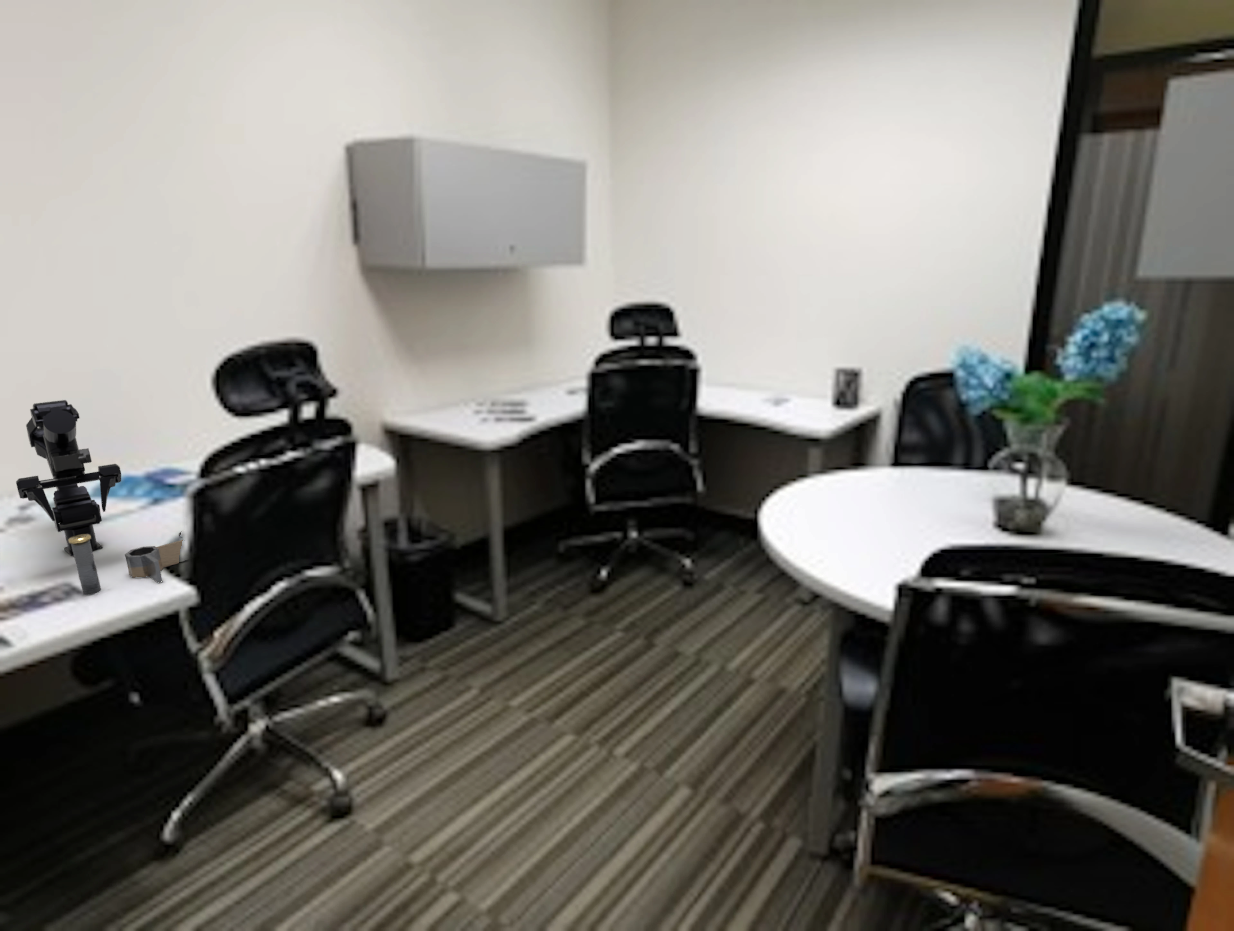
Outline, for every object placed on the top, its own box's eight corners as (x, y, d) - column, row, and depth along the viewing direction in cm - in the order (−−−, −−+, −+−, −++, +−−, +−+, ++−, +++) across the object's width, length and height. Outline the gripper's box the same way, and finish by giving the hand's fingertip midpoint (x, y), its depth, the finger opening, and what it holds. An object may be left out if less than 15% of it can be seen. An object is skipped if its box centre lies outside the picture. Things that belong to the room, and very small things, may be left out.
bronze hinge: (126, 572, 166) (122, 552, 164) (182, 556, 174) (178, 536, 173) (145, 587, 158) (140, 566, 157) (202, 569, 167) (198, 549, 165)
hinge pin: (79, 592, 156) (65, 538, 153) (99, 585, 159) (87, 532, 156) (84, 597, 154) (71, 542, 151) (105, 590, 157) (92, 536, 153)
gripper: (6, 444, 154) (22, 513, 151) (112, 431, 165) (129, 494, 162) (12, 464, 162) (27, 530, 159) (112, 450, 174) (128, 511, 171)
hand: (79, 515), depth 163 cm, fingers open, 9 cm apart
